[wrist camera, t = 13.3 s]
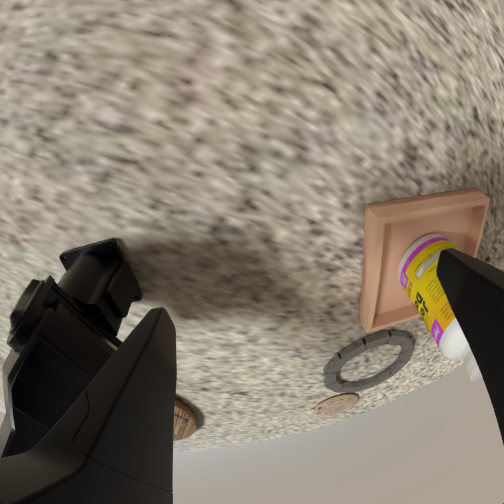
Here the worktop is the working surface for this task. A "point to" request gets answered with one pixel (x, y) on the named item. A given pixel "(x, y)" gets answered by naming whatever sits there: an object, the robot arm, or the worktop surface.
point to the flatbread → (336, 405)
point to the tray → (402, 237)
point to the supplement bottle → (434, 299)
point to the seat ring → (361, 346)
